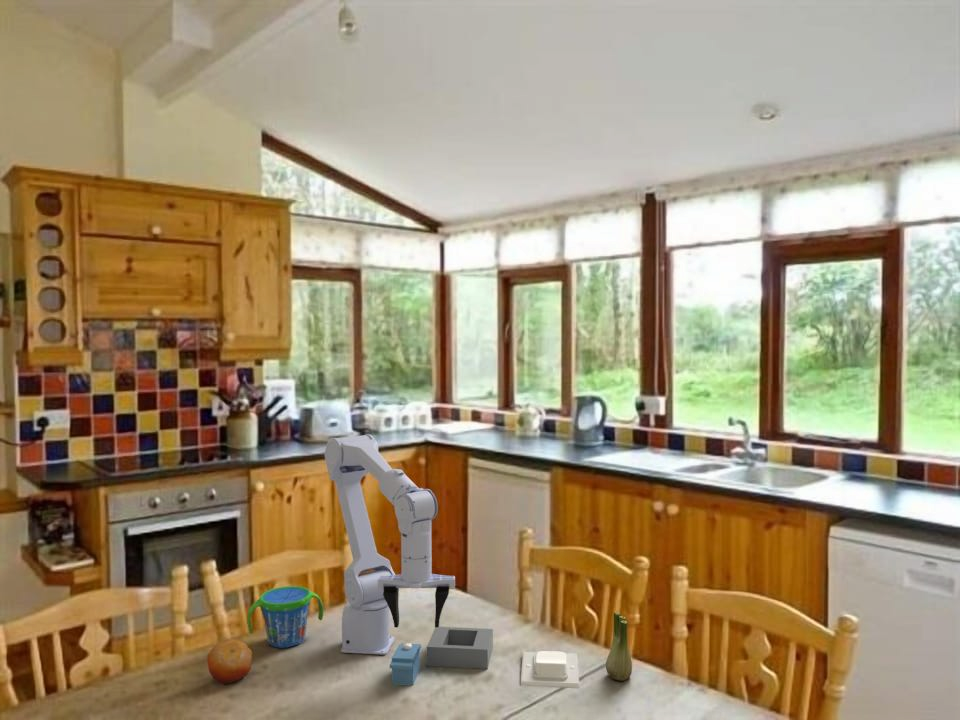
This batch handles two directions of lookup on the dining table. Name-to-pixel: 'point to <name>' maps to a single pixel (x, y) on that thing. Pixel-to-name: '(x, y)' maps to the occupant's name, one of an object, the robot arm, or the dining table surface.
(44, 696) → the dining table surface
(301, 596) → the snack cup
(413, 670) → the servo
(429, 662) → the block
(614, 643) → the fennel bulb
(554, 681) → the light switch
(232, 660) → the fruit
